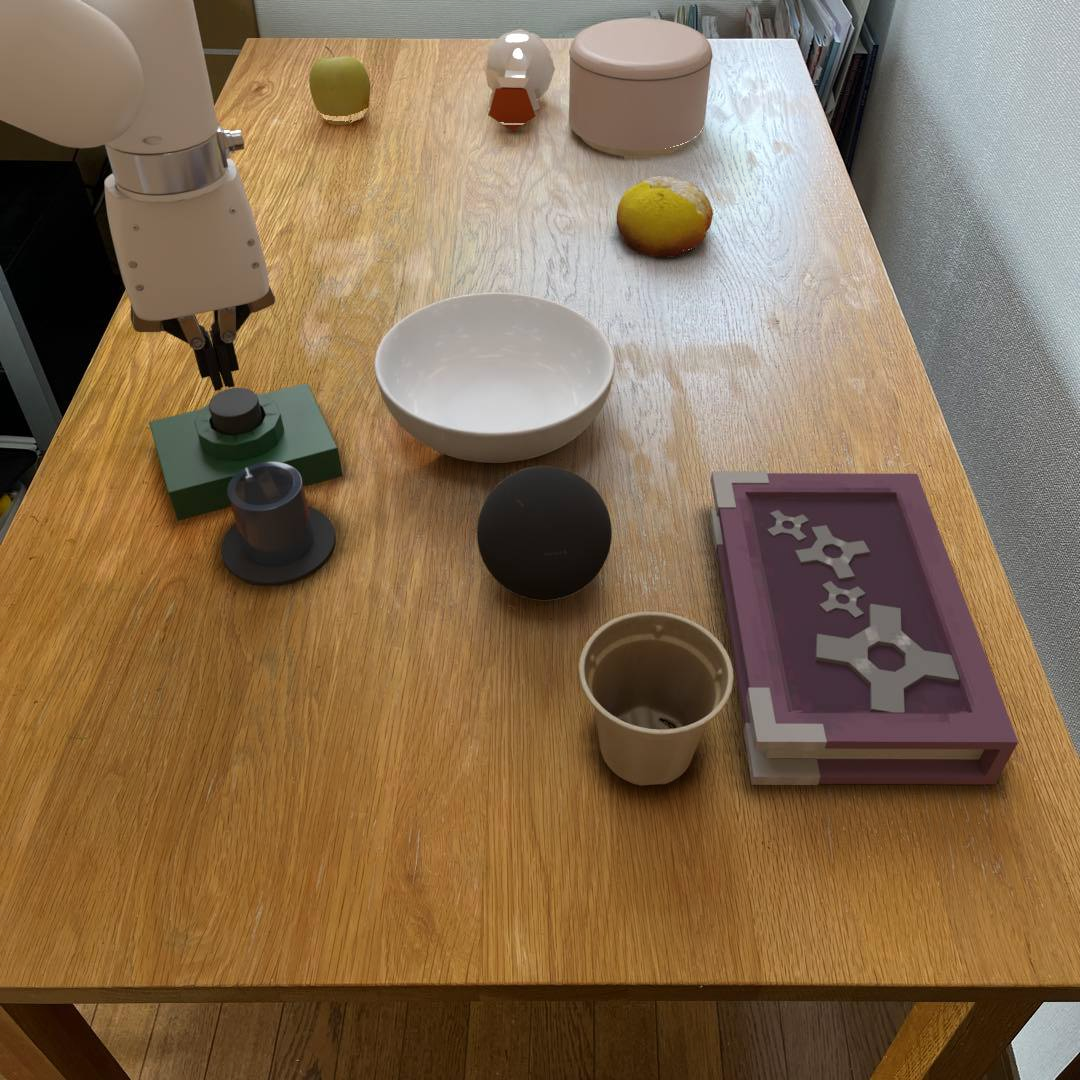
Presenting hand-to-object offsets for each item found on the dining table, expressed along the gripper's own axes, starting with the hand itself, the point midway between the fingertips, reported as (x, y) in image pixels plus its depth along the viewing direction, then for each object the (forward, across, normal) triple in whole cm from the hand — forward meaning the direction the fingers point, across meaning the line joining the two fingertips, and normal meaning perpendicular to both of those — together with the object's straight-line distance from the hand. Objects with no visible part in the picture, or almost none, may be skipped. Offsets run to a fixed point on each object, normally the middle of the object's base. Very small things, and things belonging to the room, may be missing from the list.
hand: (221, 379), depth 84 cm
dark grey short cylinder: (+5, -1, 0) cm, 5 cm away
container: (+8, -62, -47) cm, 78 cm away
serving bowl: (+9, -23, +3) cm, 25 cm away
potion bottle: (+8, -51, -59) cm, 79 cm away
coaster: (+9, -1, +11) cm, 14 cm away
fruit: (+8, -53, -21) cm, 57 cm away
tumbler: (+9, -1, +11) cm, 14 cm away
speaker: (+9, -19, +23) cm, 31 cm away
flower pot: (+9, -19, +40) cm, 45 cm away
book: (+9, -36, +36) cm, 52 cm away
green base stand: (+9, -1, 0) cm, 9 cm away
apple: (+8, -28, -67) cm, 73 cm away
